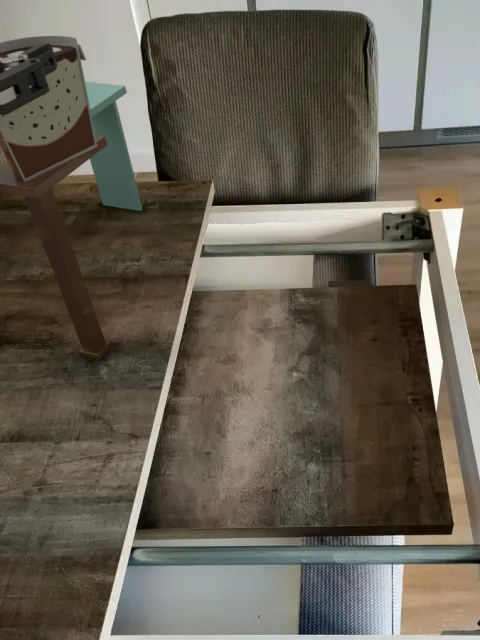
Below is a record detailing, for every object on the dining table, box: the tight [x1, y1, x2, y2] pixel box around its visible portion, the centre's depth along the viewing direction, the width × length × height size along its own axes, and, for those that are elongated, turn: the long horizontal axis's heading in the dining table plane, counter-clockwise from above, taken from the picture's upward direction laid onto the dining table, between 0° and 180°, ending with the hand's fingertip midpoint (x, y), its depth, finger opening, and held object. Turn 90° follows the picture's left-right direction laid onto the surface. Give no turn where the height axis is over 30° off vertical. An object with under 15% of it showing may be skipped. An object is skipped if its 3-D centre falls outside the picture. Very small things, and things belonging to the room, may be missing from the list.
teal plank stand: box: [85, 81, 143, 212], centre depth 96 cm, size 7×14×18 cm, turn 160°
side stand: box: [0, 135, 113, 361], centre depth 76 cm, size 7×12×22 cm, turn 160°
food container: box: [0, 35, 97, 182], centre depth 64 cm, size 12×6×10 cm, turn 145°
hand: (13, 51), depth 61 cm, fingers open, 8 cm apart
